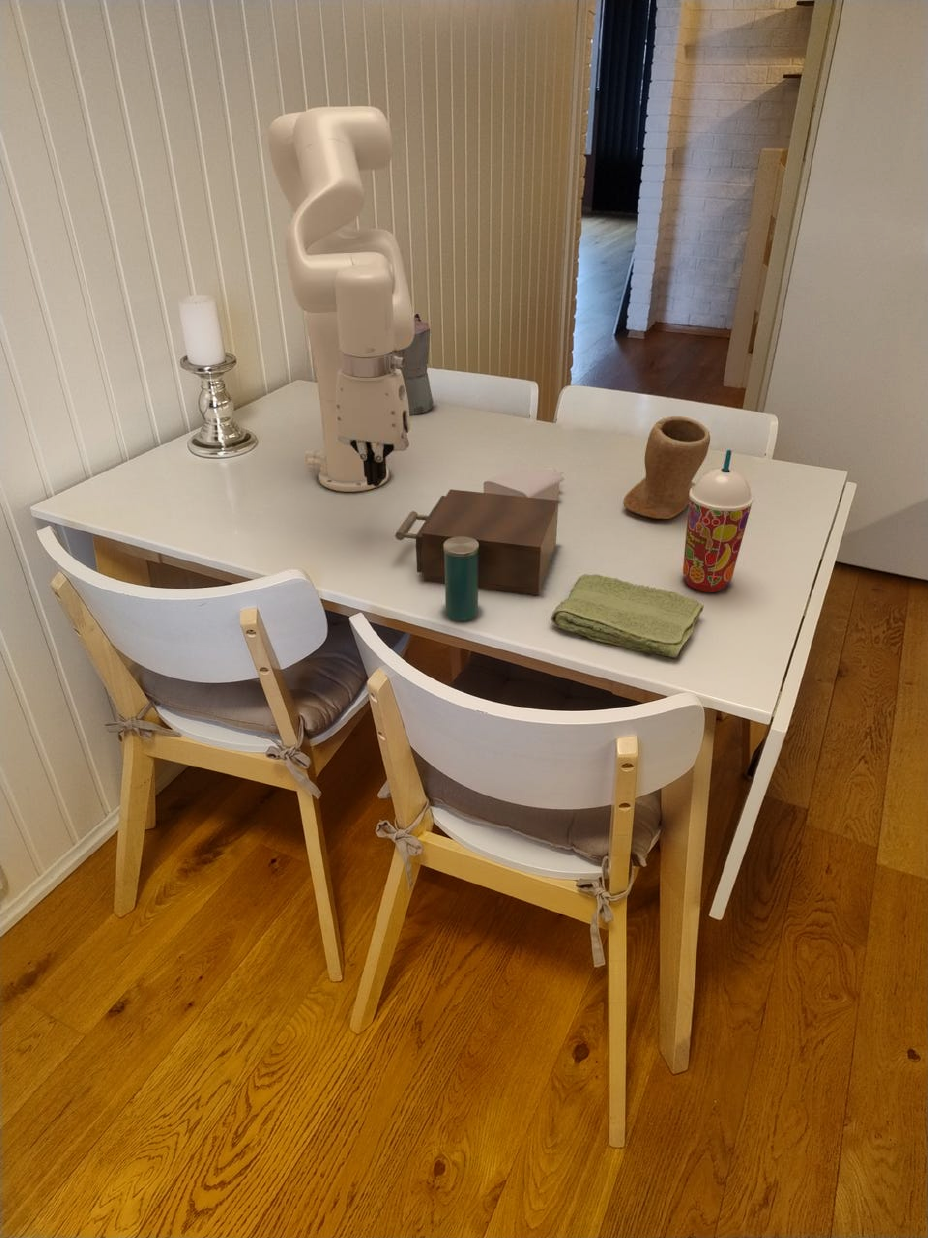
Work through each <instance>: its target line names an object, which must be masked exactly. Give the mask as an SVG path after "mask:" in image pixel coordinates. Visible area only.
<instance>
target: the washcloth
mask: <svg viewBox="0 0 928 1238" xmlns="http://www.w3.org/2000/svg"><path fill="white" fill-rule="evenodd" d="M569 591H570V592H569V595H568V597H567V598H565V599H564V600H563V601H561V602H560V603H559V604H558V605H557V606H556V607H555V609H554V610H553V611H552V613H551V617H550V621H551V622H552V624H553V625H554V626H555V627H557V628H559V629H560V630H563V631H566V632H571V633H575V634H578V635H580V636H583V637H587V638H588V639H589V640H592V641H596V642H600V643H606V644H610V645H613V646H618V647H623V648H626V649H631V650H634V651H641V652H644V653H648V654H657V655H660V656H665V657H669V658H677V657H678V655H679V653H680V651H681V649H682V648H683V646H684V645H685V643H686V642H687V641H688V640H689V638H691V635H692V634H693V633H694V629H695V624H696V622H697V620H698V618H699V616H700V615H701V614H702V612H703V611H704V606H705V605H704V604H702V603H700V602H699V601H698V600H696V599H693V598H690V597H688V596H686V595H683V594H681V593H678V592H676V591H670V590H665V589H661V588H656V587H651V586H650V585H649V586H645V585H643V584H633V583H631V582H628V581H624V580H621V579H619V578H613V577H609V576H604V575H601V574H582V575H581V576H579V577H578V578H577V580H576V582H575V583H574V584H573V587H572V588H571V589H570V590H569Z"/></svg>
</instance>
